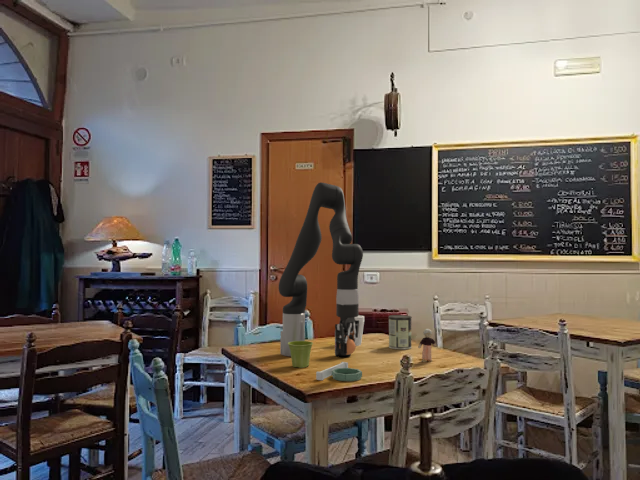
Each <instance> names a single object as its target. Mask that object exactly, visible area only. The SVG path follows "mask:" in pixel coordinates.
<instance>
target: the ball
mask: <svg viewBox="0 0 640 480" xmlns="http://www.w3.org/2000/svg"><path fill="white" fill-rule="evenodd" d="M355 351H356V346H355V343H354V341H353V340H351V339H348V338H347V354H346V355H349V354H351V355H352V354H353V353H354V352H355Z"/></svg>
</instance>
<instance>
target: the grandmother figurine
mask: <svg viewBox="0 0 640 480" xmlns="http://www.w3.org/2000/svg"><path fill="white" fill-rule="evenodd" d="M422 334H423V335H424V337H423V338H422V339H421V340H420V342H419V344H418V347H417V348H418V349H421V347H422V353H421V362H423V363H427V362H429V363H431V362H433V359H432V345H433V347H434V348H436V347H437V344H436V341H435V339H433V338H432V337H431V336H432V334H433V331H432V330H431V329H430V328H425V329H424V330H423V333H422ZM422 345H423V346H422Z"/></svg>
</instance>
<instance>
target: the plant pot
mask: <svg viewBox="0 0 640 480" xmlns="http://www.w3.org/2000/svg"><path fill="white" fill-rule="evenodd" d="M288 345H289V348H290V352H291V356H290V357H291V367H293V368H300V369H302V368H303V369H304V368H307V367H309V364H310V359H311V351H312V348H313V345H314V342H312V341H309V340H305V341H292V342H289V343H288Z"/></svg>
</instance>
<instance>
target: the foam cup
mask: <svg viewBox="0 0 640 480" xmlns="http://www.w3.org/2000/svg"><path fill="white" fill-rule="evenodd" d="M355 320H359V330H358V338H356V340H355V346H357V347H359V346H362V339H363V332H364V325H365V315H360V314H359V315H358V317H355ZM355 334H356V333H355Z"/></svg>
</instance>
